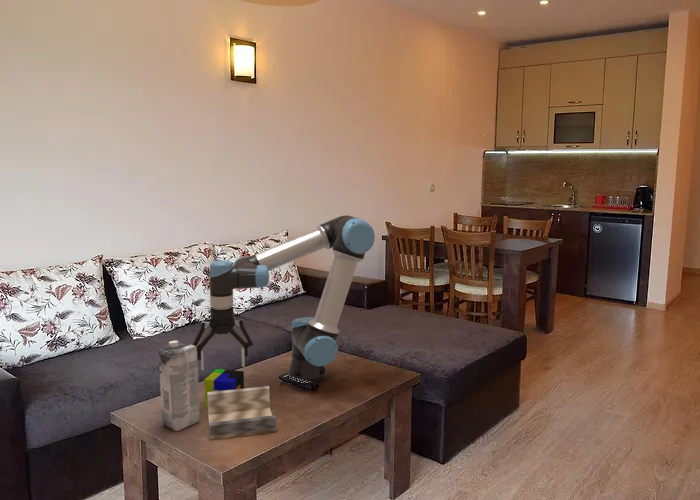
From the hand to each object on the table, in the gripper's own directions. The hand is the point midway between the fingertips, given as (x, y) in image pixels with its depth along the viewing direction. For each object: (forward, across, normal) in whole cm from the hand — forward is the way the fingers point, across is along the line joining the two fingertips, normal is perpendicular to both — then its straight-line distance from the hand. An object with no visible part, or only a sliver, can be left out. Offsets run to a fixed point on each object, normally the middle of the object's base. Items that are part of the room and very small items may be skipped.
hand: (222, 367), depth 200 cm
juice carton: (+13, +14, +12) cm, 23 cm away
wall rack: (+13, -5, +17) cm, 22 cm away
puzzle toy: (+13, -1, 0) cm, 13 cm away
